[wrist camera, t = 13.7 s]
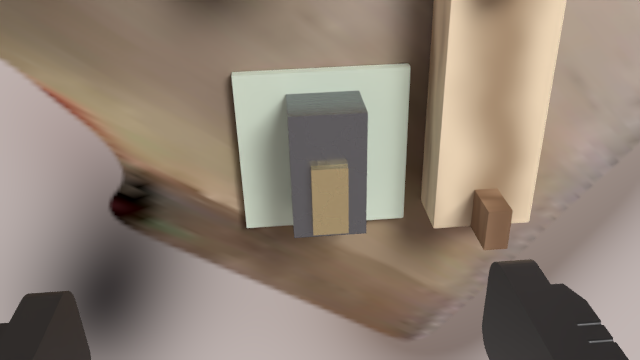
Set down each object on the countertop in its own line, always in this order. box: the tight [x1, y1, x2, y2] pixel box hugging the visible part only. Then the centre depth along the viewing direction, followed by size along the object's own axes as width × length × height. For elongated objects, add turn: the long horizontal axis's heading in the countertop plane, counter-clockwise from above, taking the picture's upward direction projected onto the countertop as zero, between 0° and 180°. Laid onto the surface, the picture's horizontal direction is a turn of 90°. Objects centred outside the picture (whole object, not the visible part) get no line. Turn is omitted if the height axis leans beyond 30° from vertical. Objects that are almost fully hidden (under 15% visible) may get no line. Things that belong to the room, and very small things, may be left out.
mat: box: [231, 63, 411, 228], centre depth 43 cm, size 12×12×1 cm
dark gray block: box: [286, 91, 368, 238], centre depth 41 cm, size 5×9×5 cm, turn 2°
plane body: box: [421, 0, 566, 250], centre depth 39 cm, size 7×20×7 cm, turn 2°
